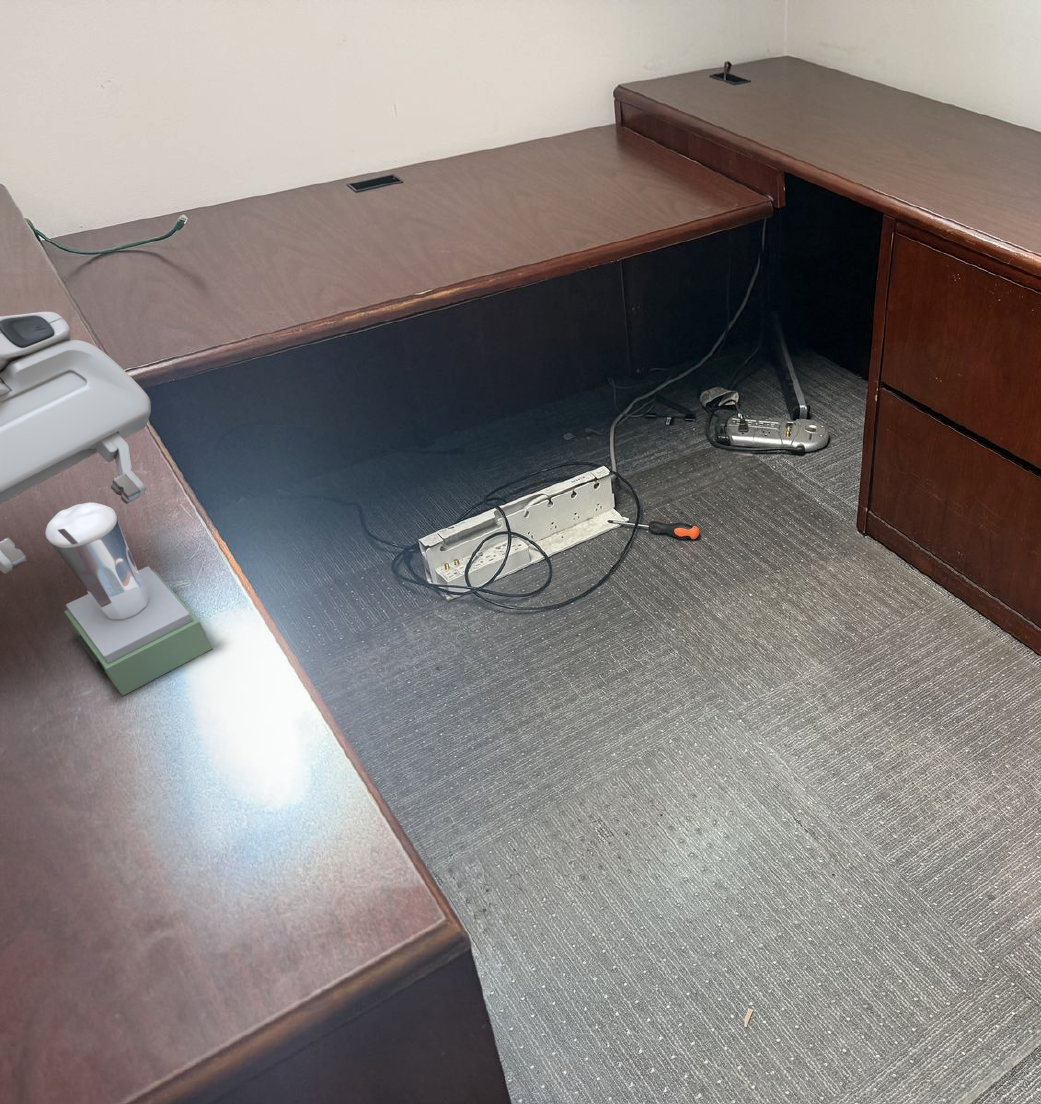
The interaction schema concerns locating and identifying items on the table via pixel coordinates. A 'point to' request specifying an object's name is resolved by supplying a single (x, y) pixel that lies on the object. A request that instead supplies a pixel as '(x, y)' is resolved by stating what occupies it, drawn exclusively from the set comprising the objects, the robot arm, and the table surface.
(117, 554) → the milkshake
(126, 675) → the scale
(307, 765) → the table surface
